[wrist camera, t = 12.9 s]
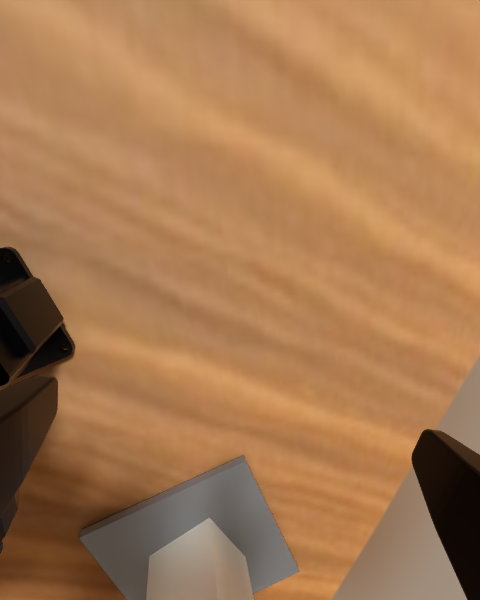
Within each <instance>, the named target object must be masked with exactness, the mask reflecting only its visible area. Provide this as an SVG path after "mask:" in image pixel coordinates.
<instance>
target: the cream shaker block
mask: <svg viewBox="0 0 480 600" xmlns="http://www.w3.org/2000/svg"><path fill="white" fill-rule="evenodd" d="M146 600H254V598H253V593H252V588H251V582H250V577H249V572H248V567H247V562H246V557H245V556H244V555H243V554H242V553H241V551H240V550H239V549H238V548H237V547H236V546H235V545H234V544H233V543H232V542H231V541H230V539H229V538H228V537H227V536H226V535H225V534H224V533H223V532H222V531H221V530H220V529H219V527H218V526H217V525H216V524H215V523H214V522H213V521H212V520H211V519H210V518H208V519H206V520H205V521H203V522H202V523H200V524H199V525H197V526H196V527H194V528H192V529H191V530H189V531H188V532H186V533H185V534H183V535H182V536H180V537H178V538H177V539H175V540H174V541H172V542H171V543H169V544H167V545H166V546H164V547H163V548H161V549H160V550H158V551H157V552H155V553H153V554H152V555H150V556H149V569H148V582H147V595H146Z"/></svg>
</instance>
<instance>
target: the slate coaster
mask: <svg viewBox="0 0 480 600" xmlns="http://www.w3.org/2000/svg"><path fill="white" fill-rule="evenodd" d="M208 518H210V519H211V520H212V521H213V522H214V523H215V524H216V525H217V526H218V527H219V529H220V530H221V531H222V532H223V533H224V534H225V535H226V536H227V537H228V538H229V539H230V541H231V542H232V543H233V544H234V545H235V546H236V547H237V548H238V549H239V550H240V551H241V553H242V554H243V555H244V556H245V557H246V562H247V567H248V572H249V577H250V582H251V588H252V593H253V594H254V593H256V592H258V591H260V590H262V589H265V588H267V587H269V586H271V585H273V584H275V583H277V582H279V581H281V580H283V579H285V578H287V577H289V576H291V575H293V574H295V573H297V572H299V569H298V566H297V563H296V561H295V559H294V557H293V555H292V553H291V551H290V549H289V547H288V545H287V543H286V541H285V539H284V536H283V534H282V532H281V530H280V528H279V526H278V524H277V522H276V520H275V518H274V516H273V514H272V512H271V510H270V508H269V506H268V504H267V502H266V500H265V498H264V496H263V494H262V492H261V490H260V488H259V485H258V483H257V481H256V479H255V477H254V475H253V473H252V471H251V469H250V467H249V465H248V463H247V461H246V459H245V457H244V455H243V456H240V457H238V458H236V459H234V460H232V461H230V462H227V463H225V464H223V465H221V466H219V467H217V468H214V469H212V470H210V471H208V472H206V473H204V474H201V475H199V476H197V477H195V478H193V479H191V480H188V481H186V482H184V483H182V484H180V485H178V486H175V487H173V488H171V489H169V490H167V491H164V492H162V493H160V494H158V495H156V496H154V497H151V498H149V499H147V500H145V501H143V502H141V503H138V504H136V505H134V506H132V507H130V508H128V509H125V510H123V511H121V512H119V513H117V514H115V515H112V516H110V517H108V518H106V519H104V520H102V521H99V522H97V523H95V524H93V525H91V526H89V527H86V528H84V529H82V530H81V532H80V535H79V539H80V541H81V542H82V543H83V544H84V546H85V547H86V548H87V549H88V551H89V552H90V553H91V555H92V556H93V557H94V558H95V560H96V561H97V562H98V564H99V565H100V566H101V567H102V569H103V570H104V571H105V572H106V574H107V575H108V576H109V578H110V579H111V580H112V581H113V583H114V584H115V585H116V587H117V588H118V589H119V590H120V592H121V593H122V594H123V595H124V597H125V598H126V599H127V600H146V595H147V582H148V569H149V556H150V555H152V554H153V553H155V552H157V551H158V550H160V549H161V548H163V547H164V546H166V545H167V544H169V543H171V542H172V541H174V540H175V539H177V538H178V537H180V536H182V535H183V534H185V533H186V532H188V531H189V530H191V529H192V528H194V527H196V526H197V525H199V524H200V523H202V522H203V521H205V520H206V519H208Z"/></svg>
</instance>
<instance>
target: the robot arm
mask: <svg viewBox="0 0 480 600" xmlns="http://www.w3.org/2000/svg"><path fill="white" fill-rule="evenodd" d="M4 253H8V254H9V255H10V256H11V261H7V260H6V259H5V258H4ZM62 322H63V316H62V315H61V313H60V311H59V310H58V308H57V307H56V305H55V303H54V302H53V300H52V298H51V297H50V295H49V294H48V292H47V290H46V289H45V287H44V285H43V284H42V282H41V280H40V279H38V278H35V277H33V275H32V274H31V272H30V270H29V269H28V267H27V266H26V264H25V262H24V261H23V259H22V257H21V256H20V254H19V253H18V252H17V250H16V249H14V248H12V247H4V248H0V553H1V551H2V549H3V542H2V539H3V538H4V536H5V535H6V533H7V531H8V528H9V526H10V524H11V522H12V520H13V518H14V516H15V513H16V511H17V509H18V489H19V487H20V485H21V484H22V482H23V480H24V478H25V476H26V474H27V473H28V471H29V469H30V467H31V465H32V463H33V461H34V458H35V456H36V454H37V452H38V450H39V448H40V446H41V444H42V442H43V440H44V438H45V436H46V434H47V432H48V430H49V428H50V426H51V424H52V422H53V420H54V418H55V415H56V412H57V405H58V381H57V379H56V378H55V377H52V376H44V375H36V376H33V377H31V378H28V379H26V380H24V381H21V382H19V383H16V384H14V385H12V386H10V384H11V383H12V382H13V381H14V380H15V379H16V378H18V377H20V376H23V375H25V374H27V373H30V372H32V371H34V370H36V369H39V368H41V367H43V366H46V365H48V364H50V363H53V362H55V361H57V360H60V359H62V358H64V357H67V356H69V355H70V354H71V353H72V351H73V350H74V348H75V344H74V342H73V340H72V338H71V337H70V335H69V334H68V332H67V330H66V329H65V327H64V326H63V324H62ZM61 344H64V345H66V346H67V347H68V350H64V349H62V348H61V346H60V345H61ZM412 464H413V467H414V470H415V473H416V476H417V478H418V481H419V484H420V487H421V490H422V493H423V496H424V499H425V501H426V504H427V507H428V510H429V513H430V515H431V518H432V521H433V523H434V526H435V529H436V531H437V533H438V536H439V538H440V540H441V542H442V544H443V547H444V549H445V551H446V553H447V555H448V558H449V560H450V562H451V564H452V567H453V569H454V571H455V573H456V576H457V578H458V580H459V582H460V584H461V587H462V589H463V591H464V593H465V595H466V598H467V600H480V455H479V454H477V453H476V452H474V451H472V450H471V449H469V448H468V447H466V446H465V445H463V444H461V443H460V442H458V441H457V440H455V439H454V438H452V437H450V436H449V435H447V434H445V433H444V432H442V431H438V430H431V429H426V430H424V431H423V432H422V433H421V435H420V438H419V440H418V442H417V444H416V446H415V448H414V451H413V453H412Z"/></svg>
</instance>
